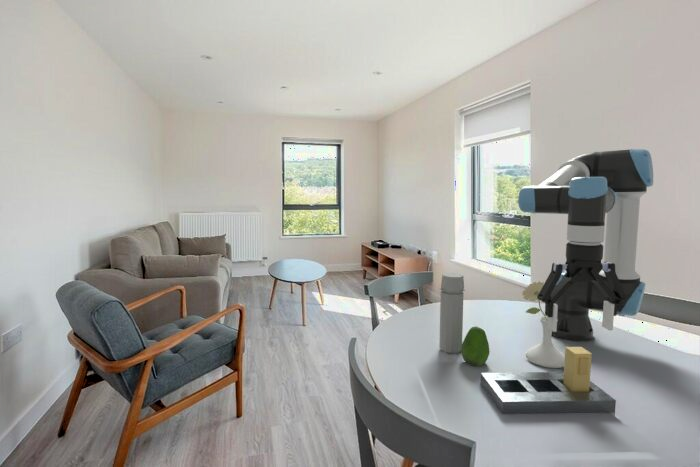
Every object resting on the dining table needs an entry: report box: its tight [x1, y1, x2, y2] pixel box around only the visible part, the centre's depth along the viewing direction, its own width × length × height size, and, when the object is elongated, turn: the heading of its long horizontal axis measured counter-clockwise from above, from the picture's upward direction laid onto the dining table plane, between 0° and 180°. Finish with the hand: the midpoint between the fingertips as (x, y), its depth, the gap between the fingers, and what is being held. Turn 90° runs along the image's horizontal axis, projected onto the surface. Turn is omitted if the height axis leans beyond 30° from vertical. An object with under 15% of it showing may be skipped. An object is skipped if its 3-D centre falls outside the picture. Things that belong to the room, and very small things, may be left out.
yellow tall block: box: [563, 346, 593, 392], centre depth 93 cm, size 4×5×12 cm
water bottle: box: [439, 272, 466, 355], centre depth 125 cm, size 9×8×25 cm
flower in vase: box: [522, 281, 565, 369], centre depth 114 cm, size 13×11×25 cm
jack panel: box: [480, 371, 617, 417], centre depth 94 cm, size 26×14×4 cm, turn 91°
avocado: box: [460, 326, 491, 367], centre depth 113 cm, size 8×8×12 cm
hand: (579, 329), depth 93 cm, fingers open, 13 cm apart
